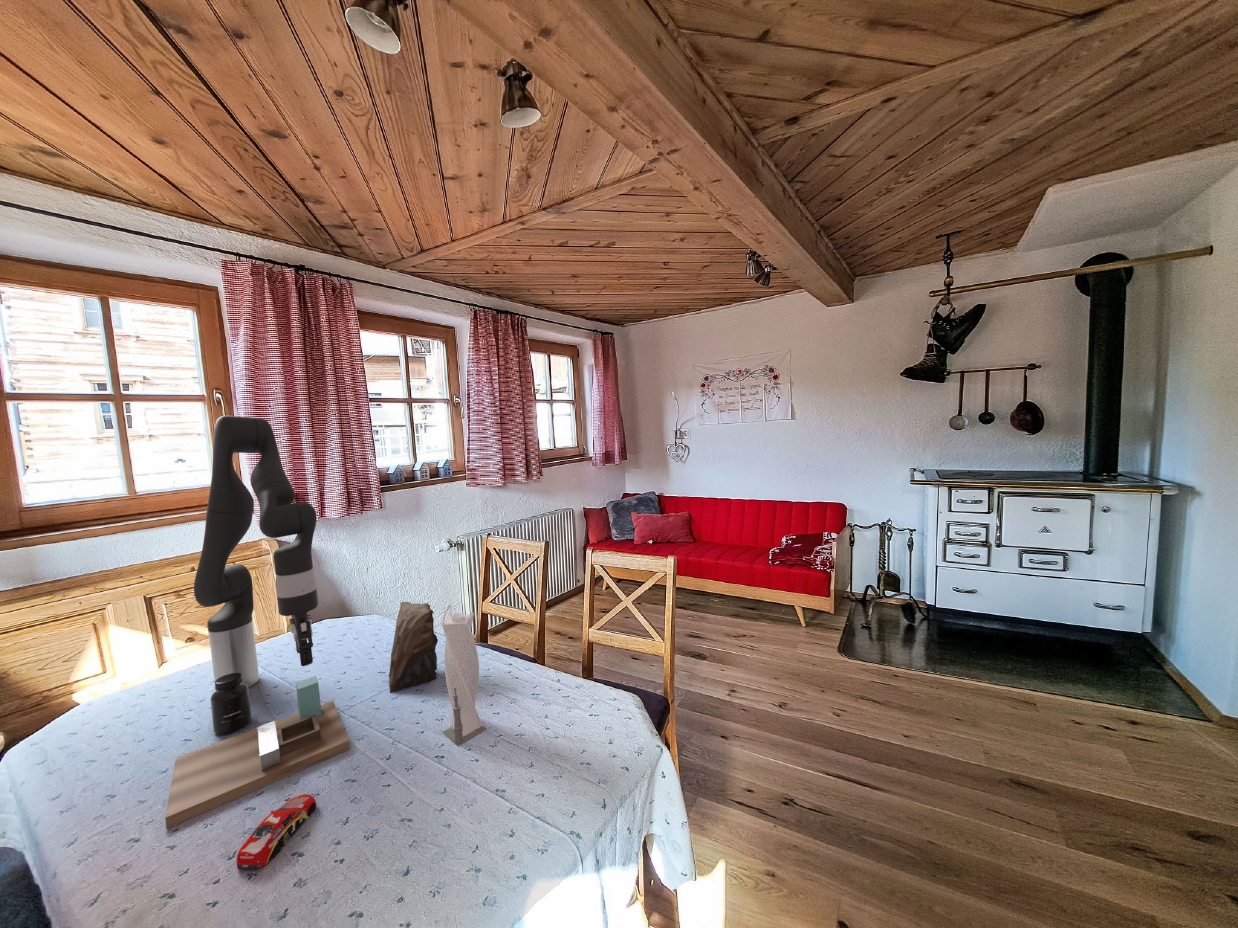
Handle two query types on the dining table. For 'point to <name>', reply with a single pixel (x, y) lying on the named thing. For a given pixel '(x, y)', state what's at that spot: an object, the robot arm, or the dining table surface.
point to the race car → (275, 832)
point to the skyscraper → (461, 677)
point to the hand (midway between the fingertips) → (304, 657)
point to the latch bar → (268, 745)
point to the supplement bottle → (230, 704)
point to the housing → (250, 763)
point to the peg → (308, 697)
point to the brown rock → (413, 648)
